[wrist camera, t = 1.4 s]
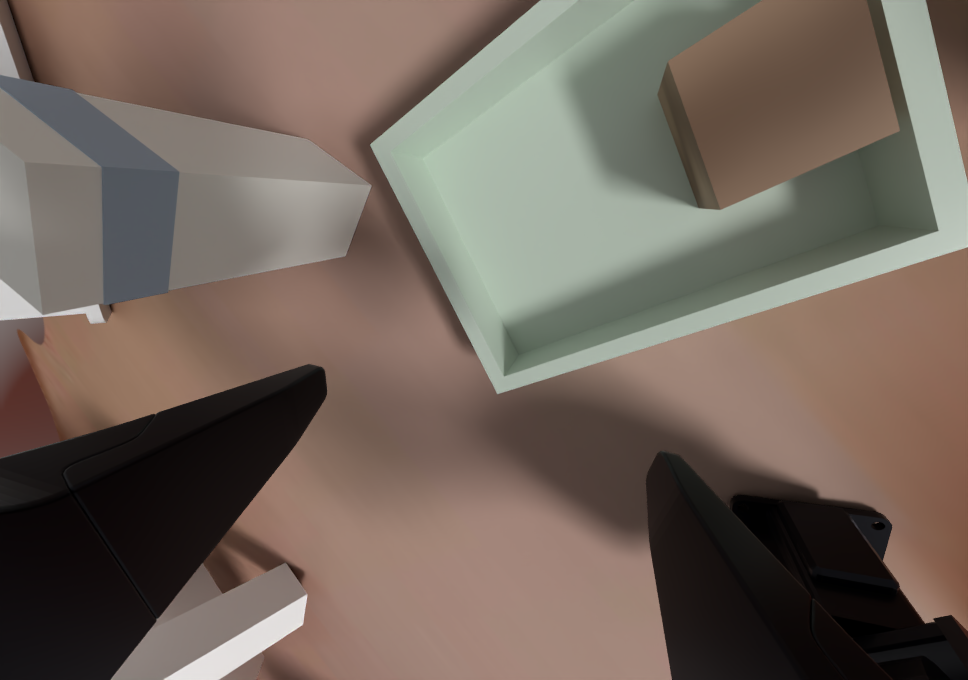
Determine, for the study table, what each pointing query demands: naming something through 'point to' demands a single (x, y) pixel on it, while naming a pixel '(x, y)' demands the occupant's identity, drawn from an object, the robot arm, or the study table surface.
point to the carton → (155, 199)
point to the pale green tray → (648, 189)
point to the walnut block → (776, 96)
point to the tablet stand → (7, 58)
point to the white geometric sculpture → (218, 629)
